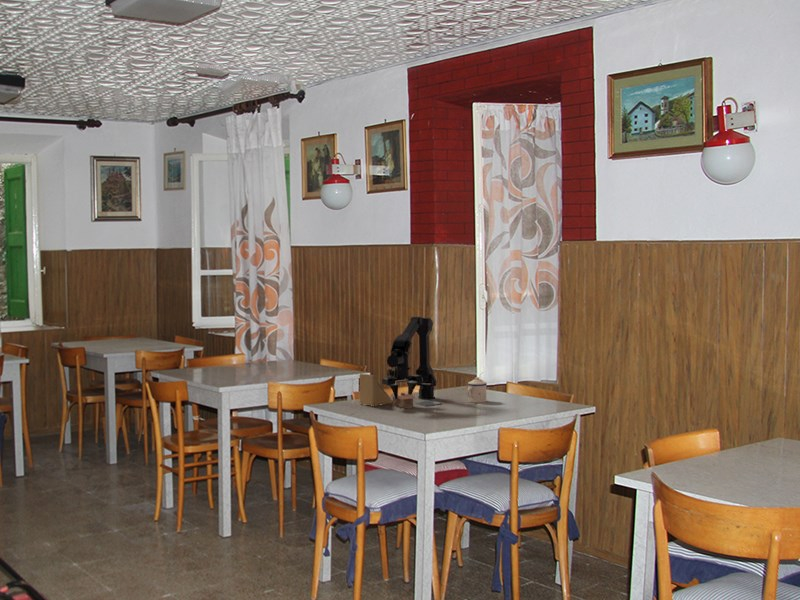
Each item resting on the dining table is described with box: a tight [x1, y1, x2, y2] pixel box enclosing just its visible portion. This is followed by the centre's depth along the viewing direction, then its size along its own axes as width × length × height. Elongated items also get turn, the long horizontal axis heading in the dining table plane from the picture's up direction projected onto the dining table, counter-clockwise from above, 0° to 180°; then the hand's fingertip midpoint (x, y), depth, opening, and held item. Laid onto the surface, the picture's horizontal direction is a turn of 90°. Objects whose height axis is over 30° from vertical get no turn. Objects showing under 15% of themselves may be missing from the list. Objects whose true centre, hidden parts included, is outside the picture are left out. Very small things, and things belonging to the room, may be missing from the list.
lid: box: [390, 392, 416, 399], centre depth 423 cm, size 11×7×3 cm, turn 29°
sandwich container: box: [359, 373, 393, 406], centre depth 433 cm, size 9×15×15 cm, turn 138°
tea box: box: [392, 397, 414, 409], centre depth 423 cm, size 10×5×4 cm, turn 29°
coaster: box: [415, 400, 443, 407], centre depth 430 cm, size 9×9×1 cm
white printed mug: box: [466, 376, 487, 404], centre depth 435 cm, size 12×9×12 cm
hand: (402, 398), depth 423 cm, fingers closed on lid, 7 cm apart
